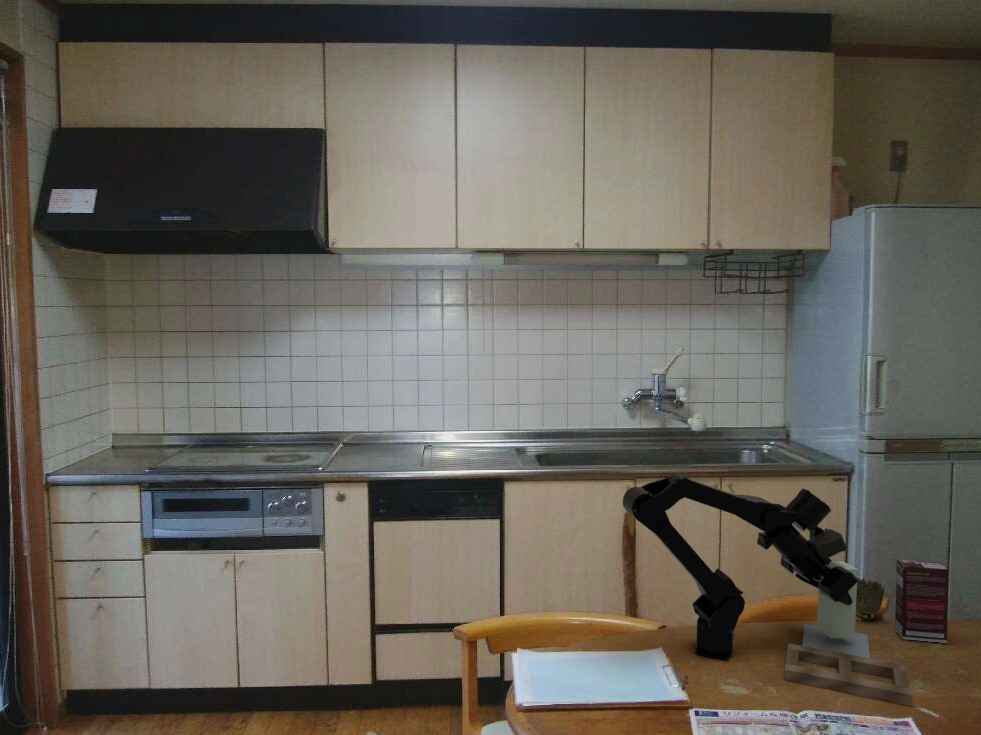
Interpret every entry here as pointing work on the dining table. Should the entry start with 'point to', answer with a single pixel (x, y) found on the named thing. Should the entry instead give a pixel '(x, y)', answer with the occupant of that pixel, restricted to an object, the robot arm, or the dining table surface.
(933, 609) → the supplement box
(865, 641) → the grey mat
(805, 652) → the puzzle board
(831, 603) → the sage block
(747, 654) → the dining table surface
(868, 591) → the dark olive textured piece
